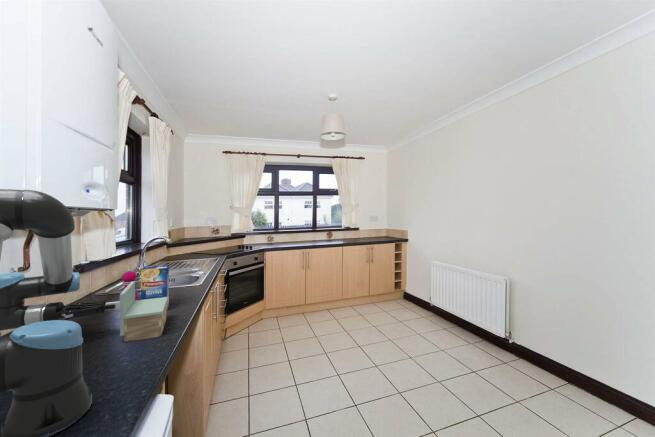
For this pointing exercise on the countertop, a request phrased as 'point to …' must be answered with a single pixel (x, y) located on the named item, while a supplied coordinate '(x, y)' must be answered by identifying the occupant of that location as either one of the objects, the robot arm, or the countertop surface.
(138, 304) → the grey-green angled piece
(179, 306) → the countertop surface
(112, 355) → the countertop surface
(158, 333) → the wooden box
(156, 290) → the blue food box
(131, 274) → the pepper mill
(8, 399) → the countertop surface
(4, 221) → the robot arm
